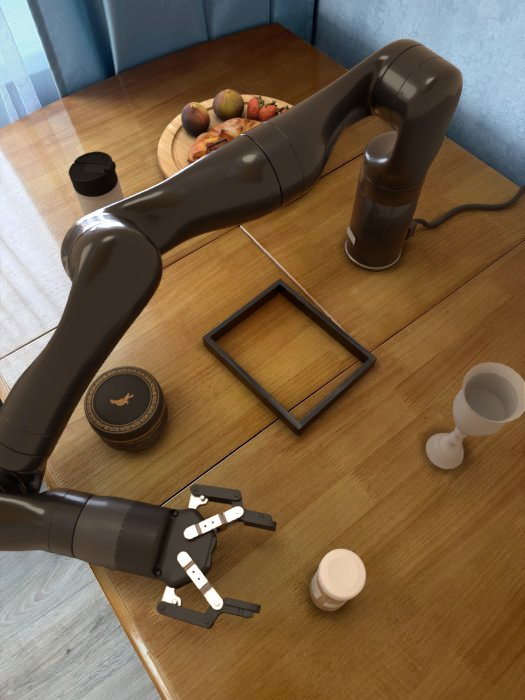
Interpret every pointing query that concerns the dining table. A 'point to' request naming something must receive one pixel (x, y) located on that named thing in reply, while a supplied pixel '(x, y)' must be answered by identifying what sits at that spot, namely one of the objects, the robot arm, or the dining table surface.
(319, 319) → the picture frame
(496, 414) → the chalice
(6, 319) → the dining table surface
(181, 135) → the wooden plate
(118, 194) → the travel mug
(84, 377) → the robot arm
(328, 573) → the sprinkles bottle
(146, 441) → the jar
